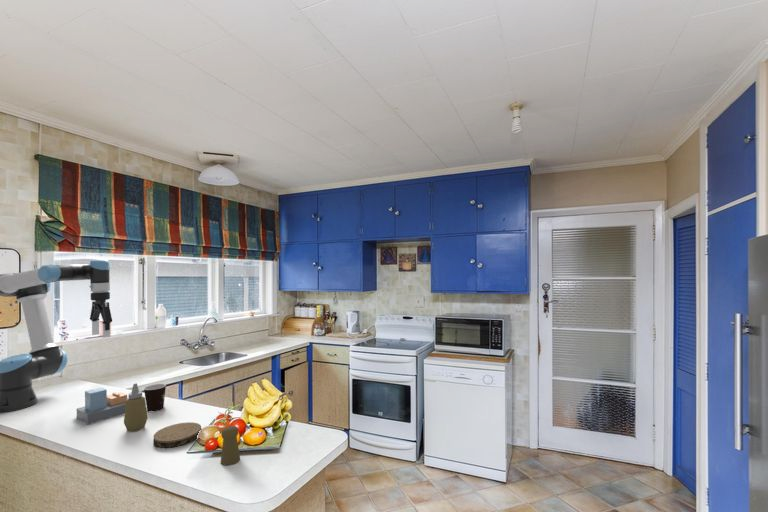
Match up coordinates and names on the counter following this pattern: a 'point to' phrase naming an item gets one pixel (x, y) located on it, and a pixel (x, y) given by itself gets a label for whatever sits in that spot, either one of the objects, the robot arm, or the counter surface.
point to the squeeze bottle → (135, 410)
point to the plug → (95, 399)
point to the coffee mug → (155, 397)
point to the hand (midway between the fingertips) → (101, 335)
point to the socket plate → (100, 413)
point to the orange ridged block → (116, 398)
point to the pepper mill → (230, 446)
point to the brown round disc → (176, 435)
